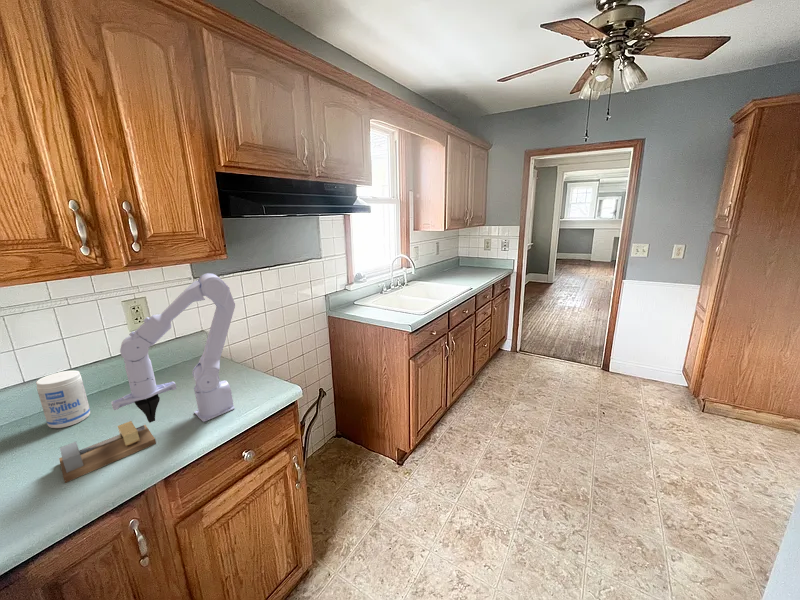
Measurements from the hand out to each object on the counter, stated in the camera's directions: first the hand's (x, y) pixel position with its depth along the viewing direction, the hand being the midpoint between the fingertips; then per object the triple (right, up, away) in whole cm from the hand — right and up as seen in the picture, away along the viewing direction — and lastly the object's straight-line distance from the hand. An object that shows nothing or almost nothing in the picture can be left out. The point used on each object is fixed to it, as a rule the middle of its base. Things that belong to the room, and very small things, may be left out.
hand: (151, 420), depth 95 cm
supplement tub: (-30, -3, +7) cm, 31 cm away
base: (-5, -6, -8) cm, 11 cm away
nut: (-2, -3, -5) cm, 6 cm away
